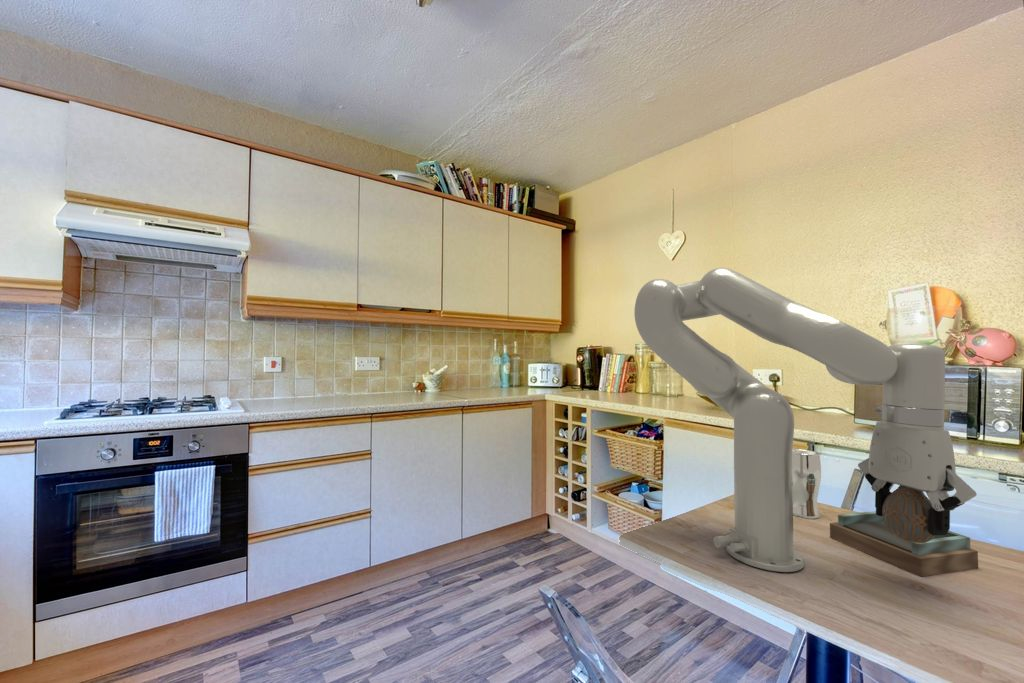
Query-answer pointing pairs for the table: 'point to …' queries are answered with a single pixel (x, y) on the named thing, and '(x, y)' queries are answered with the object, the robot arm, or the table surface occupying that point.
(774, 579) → the table surface
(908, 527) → the vase
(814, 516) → the beer glass
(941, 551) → the dock
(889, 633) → the table surface
